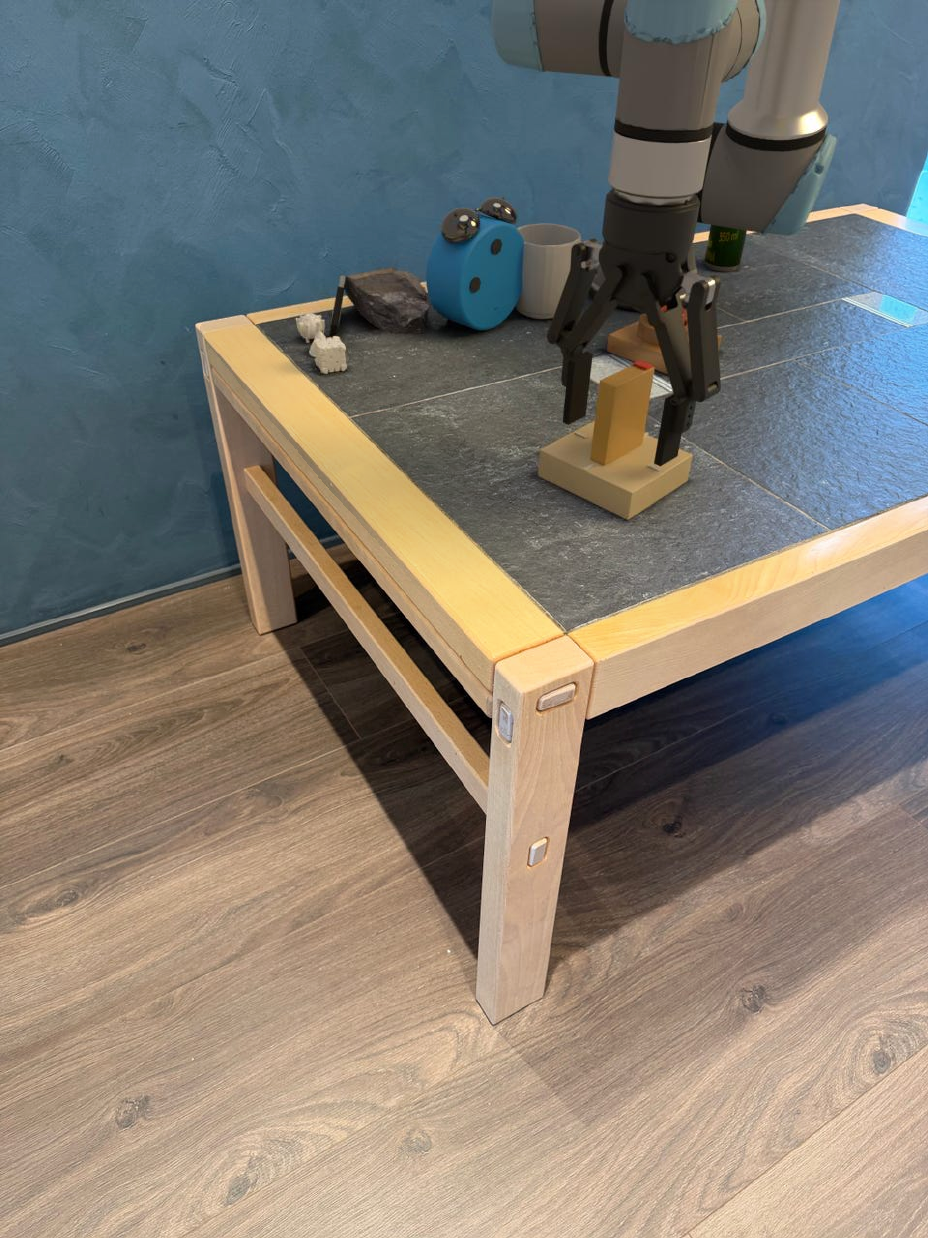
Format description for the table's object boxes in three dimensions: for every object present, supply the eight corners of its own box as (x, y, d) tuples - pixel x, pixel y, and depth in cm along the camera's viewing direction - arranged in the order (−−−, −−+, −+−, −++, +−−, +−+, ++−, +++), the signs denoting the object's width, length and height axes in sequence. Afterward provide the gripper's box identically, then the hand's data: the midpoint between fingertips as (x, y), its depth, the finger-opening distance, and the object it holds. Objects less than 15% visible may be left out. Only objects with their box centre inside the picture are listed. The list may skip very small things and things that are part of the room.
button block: (606, 351, 113) (610, 319, 110) (652, 329, 118) (657, 299, 116) (673, 376, 107) (679, 344, 105) (718, 352, 113) (725, 321, 110)
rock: (327, 309, 120) (326, 268, 116) (390, 293, 126) (391, 253, 123) (402, 344, 112) (403, 300, 109) (464, 324, 119) (467, 283, 116)
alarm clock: (493, 304, 124) (496, 186, 114) (527, 316, 121) (534, 196, 111) (425, 331, 116) (422, 209, 107) (460, 345, 113) (460, 220, 103)
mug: (587, 308, 123) (594, 232, 117) (551, 329, 118) (556, 250, 111) (510, 287, 129) (513, 213, 123) (473, 306, 124) (474, 229, 117)
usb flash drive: (338, 326, 112) (330, 325, 112) (333, 354, 117) (325, 352, 117) (347, 275, 116) (339, 273, 116) (342, 303, 121) (334, 302, 120)
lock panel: (536, 476, 89) (539, 448, 87) (599, 441, 95) (603, 413, 93) (627, 520, 84) (631, 491, 82) (688, 480, 89) (694, 452, 87)
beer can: (731, 259, 140) (748, 175, 132) (744, 271, 136) (763, 185, 128) (698, 260, 139) (713, 176, 132) (711, 272, 135) (727, 186, 128)
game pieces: (348, 371, 107) (346, 345, 105) (321, 375, 106) (318, 349, 104) (321, 331, 116) (318, 307, 113) (295, 335, 115) (293, 310, 112)
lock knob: (604, 465, 85) (615, 384, 80) (589, 458, 86) (599, 377, 81) (642, 444, 89) (655, 364, 83) (627, 437, 90) (639, 358, 84)
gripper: (806, 213, 68) (743, 469, 83) (573, 156, 80) (553, 387, 95) (754, 234, 64) (697, 500, 78) (517, 170, 76) (504, 410, 91)
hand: (618, 438), depth 87 cm, fingers open, 10 cm apart
